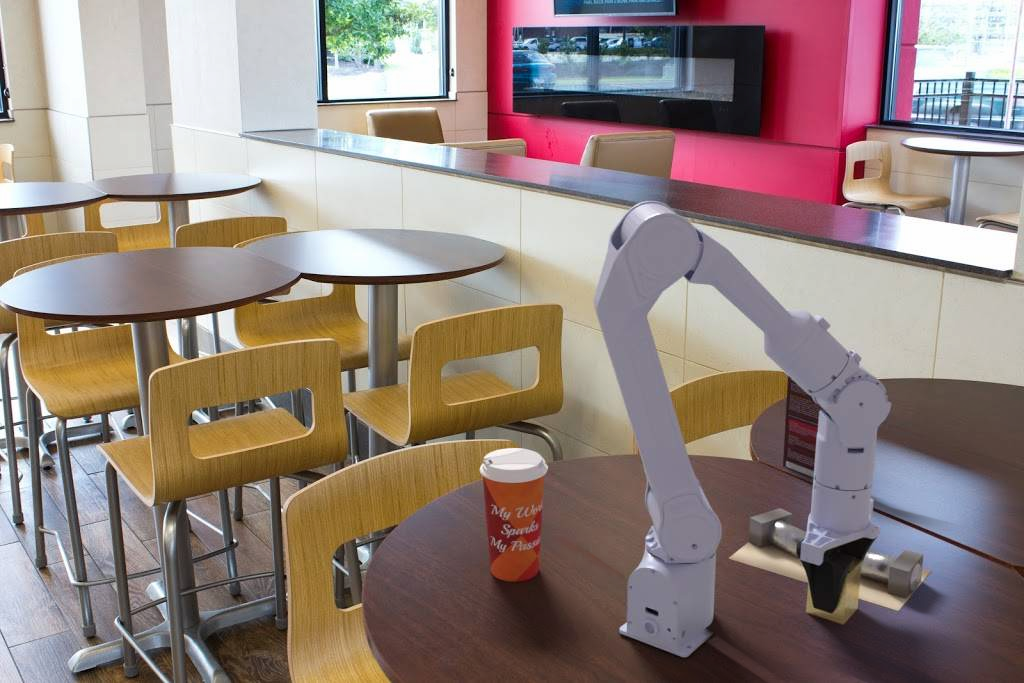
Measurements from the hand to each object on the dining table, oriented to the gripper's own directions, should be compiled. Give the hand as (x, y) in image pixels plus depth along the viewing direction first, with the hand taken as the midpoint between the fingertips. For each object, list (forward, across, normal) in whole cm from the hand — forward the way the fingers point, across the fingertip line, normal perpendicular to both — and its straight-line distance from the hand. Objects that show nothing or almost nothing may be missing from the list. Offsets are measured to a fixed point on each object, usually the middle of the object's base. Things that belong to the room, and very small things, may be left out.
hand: (832, 600), depth 107 cm
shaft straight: (+1, +10, -2) cm, 10 cm away
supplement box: (+2, +36, +16) cm, 39 cm away
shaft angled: (+1, +11, +10) cm, 15 cm away
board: (+2, +10, +4) cm, 11 cm away
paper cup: (+3, -11, +33) cm, 35 cm away
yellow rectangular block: (+2, 0, 0) cm, 2 cm away
